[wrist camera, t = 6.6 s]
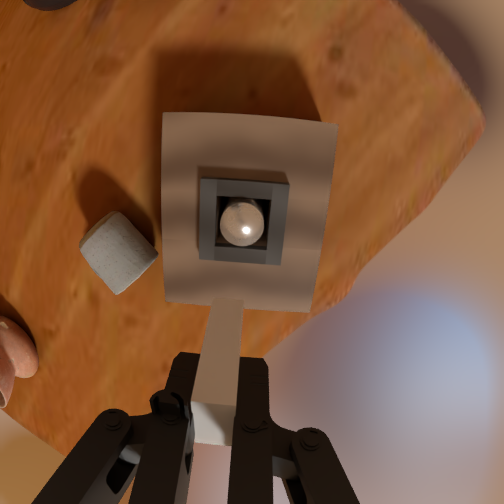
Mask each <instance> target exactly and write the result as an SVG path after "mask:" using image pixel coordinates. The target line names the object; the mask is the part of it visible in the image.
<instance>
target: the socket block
mask: <svg viewBox="0 0 504 504" xmlns="http://www.w3.org/2000/svg"><path fill="white" fill-rule="evenodd" d="M338 125H339V124H332V123H326V122H318V121H311V120H302V119H294V118H284V117H274V116H262V115H248V114H231V113H205V112H163V119H162V150H161V219H162V250H163V271H164V288H165V301H166V302H176V303H186V304H196V305H207V306H211V305H212V301H213V298H225V299H238V300H244V305H243V309H257V310H272V311H289V312H308V313H310V308H311V303H312V298H313V293H314V288H315V282H316V277H317V271H318V266H319V260H320V254H321V248H322V242H323V236H324V230H325V224H326V217H327V211H328V204H329V197H330V190H331V183H332V175H333V168H334V160H335V151H336V143H337V134H338ZM225 196H230V197H244V198H257V199H267V205H266V216H265V220H264V230H263V233H262V235H261V237H260V238H259V239H258V240H257V241H256V242H255V243H253V244H251V245H247V246H237V245H234V244H232V243H230V242H228V241H227V240H226V239H225V238H224V236H223V235H222V233H221V230H220V220H221V217H222V214H223V211H224V204H225Z"/></svg>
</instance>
